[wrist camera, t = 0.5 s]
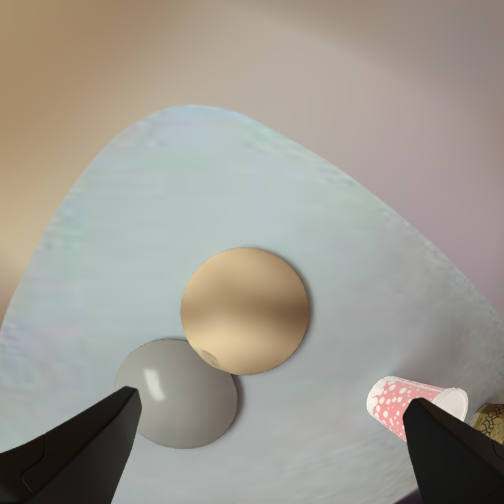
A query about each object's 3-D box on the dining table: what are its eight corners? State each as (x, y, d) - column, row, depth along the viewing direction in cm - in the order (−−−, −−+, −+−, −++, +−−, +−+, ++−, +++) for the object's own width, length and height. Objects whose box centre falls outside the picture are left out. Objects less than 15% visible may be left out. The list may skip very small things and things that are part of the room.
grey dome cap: (247, 435, 20) (248, 439, 19) (137, 448, 18) (136, 452, 17) (223, 329, 21) (223, 330, 20) (104, 346, 19) (101, 347, 18)
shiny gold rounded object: (314, 356, 22) (317, 357, 21) (196, 383, 20) (196, 385, 19) (293, 240, 23) (295, 238, 22) (171, 259, 21) (170, 259, 20)
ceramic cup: (450, 446, 23) (496, 466, 13) (482, 387, 25) (531, 397, 15) (475, 453, 24) (512, 468, 14) (501, 404, 26) (540, 413, 16)
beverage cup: (357, 429, 21) (451, 495, 8) (362, 375, 22) (479, 423, 8) (403, 413, 22) (497, 455, 9) (409, 363, 23) (519, 388, 9)
